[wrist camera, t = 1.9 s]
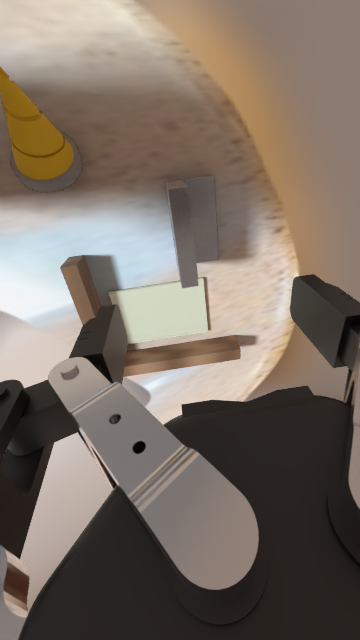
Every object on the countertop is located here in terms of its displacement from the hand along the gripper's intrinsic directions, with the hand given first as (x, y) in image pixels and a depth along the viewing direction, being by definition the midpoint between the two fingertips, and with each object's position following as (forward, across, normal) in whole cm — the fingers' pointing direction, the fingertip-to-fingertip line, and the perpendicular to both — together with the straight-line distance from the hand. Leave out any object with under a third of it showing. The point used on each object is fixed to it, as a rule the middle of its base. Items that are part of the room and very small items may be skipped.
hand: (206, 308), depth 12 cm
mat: (+18, +4, +10) cm, 21 cm away
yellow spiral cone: (+18, +10, -8) cm, 22 cm away
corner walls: (+18, +3, +9) cm, 20 cm away
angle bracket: (+18, -2, 0) cm, 18 cm away
